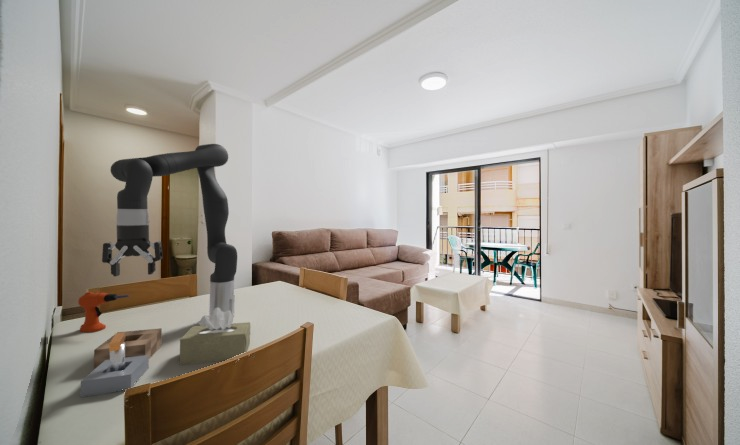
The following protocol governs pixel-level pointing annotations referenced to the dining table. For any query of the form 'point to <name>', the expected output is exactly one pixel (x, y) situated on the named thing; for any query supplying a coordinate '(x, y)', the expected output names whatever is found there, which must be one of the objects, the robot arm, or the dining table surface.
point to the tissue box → (214, 339)
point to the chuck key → (117, 352)
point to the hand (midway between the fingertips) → (134, 275)
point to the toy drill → (94, 309)
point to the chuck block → (132, 345)
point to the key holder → (114, 376)
